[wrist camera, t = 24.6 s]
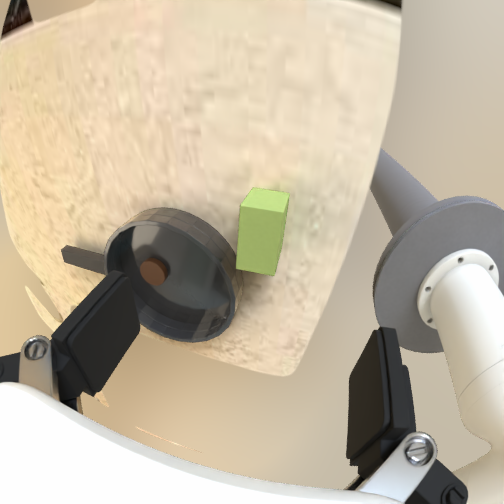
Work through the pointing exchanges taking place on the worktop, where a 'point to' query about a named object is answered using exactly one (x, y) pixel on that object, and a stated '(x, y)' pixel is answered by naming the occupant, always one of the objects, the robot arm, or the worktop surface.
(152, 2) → the worktop surface
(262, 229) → the sponge
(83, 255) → the pan handle
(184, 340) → the pan
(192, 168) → the worktop surface
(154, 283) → the brown disc
